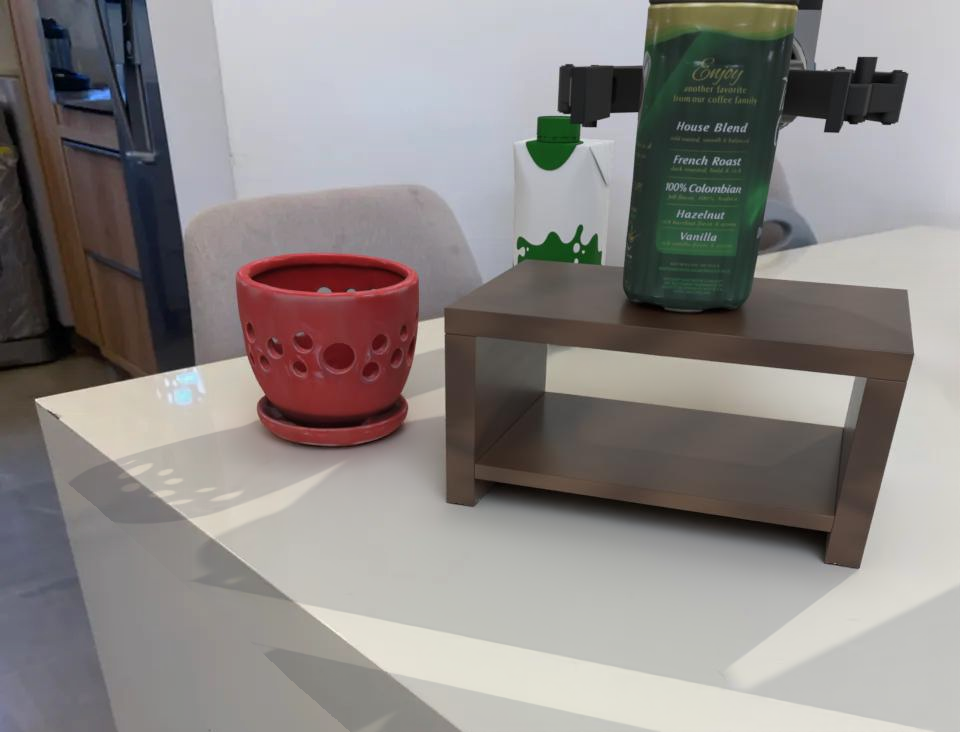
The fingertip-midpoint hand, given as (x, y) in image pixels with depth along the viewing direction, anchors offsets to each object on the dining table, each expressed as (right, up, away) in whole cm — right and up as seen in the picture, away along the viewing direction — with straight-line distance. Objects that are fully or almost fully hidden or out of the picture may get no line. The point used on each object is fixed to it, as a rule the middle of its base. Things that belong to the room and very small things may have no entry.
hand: (702, 99), depth 50 cm
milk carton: (-4, +3, +49) cm, 49 cm away
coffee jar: (+1, -8, +9) cm, 11 cm away
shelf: (+1, -18, +15) cm, 24 cm away
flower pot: (-23, -12, +24) cm, 36 cm away
